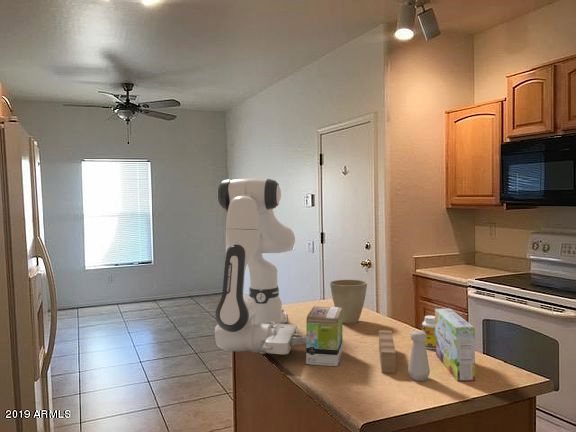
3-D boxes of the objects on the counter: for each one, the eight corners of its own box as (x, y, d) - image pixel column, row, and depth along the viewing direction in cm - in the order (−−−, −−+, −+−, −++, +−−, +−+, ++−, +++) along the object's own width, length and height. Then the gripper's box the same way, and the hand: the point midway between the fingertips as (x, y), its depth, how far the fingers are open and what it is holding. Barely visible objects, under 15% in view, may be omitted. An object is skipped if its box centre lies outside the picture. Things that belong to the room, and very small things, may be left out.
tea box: (338, 367, 139) (338, 317, 138) (305, 365, 141) (304, 316, 140) (343, 350, 154) (342, 306, 153) (312, 349, 156) (312, 305, 155)
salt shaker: (417, 384, 125) (417, 335, 125) (403, 376, 131) (403, 330, 130) (434, 380, 128) (434, 333, 127) (420, 373, 133) (420, 327, 133)
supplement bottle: (418, 346, 157) (418, 316, 157) (431, 343, 159) (431, 314, 159) (430, 351, 152) (430, 319, 152) (443, 348, 154) (443, 317, 154)
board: (379, 348, 155) (378, 330, 155) (391, 348, 155) (391, 330, 155) (381, 372, 134) (381, 352, 134) (395, 373, 133) (395, 352, 133)
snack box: (433, 355, 148) (433, 308, 147) (451, 355, 148) (451, 308, 147) (455, 381, 127) (455, 326, 126) (476, 381, 127) (476, 326, 126)
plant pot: (374, 320, 190) (374, 281, 190) (354, 328, 179) (353, 287, 179) (344, 315, 200) (343, 277, 200) (322, 322, 189) (322, 282, 189)
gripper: (257, 338, 140) (303, 339, 138) (270, 320, 160) (311, 321, 158) (257, 358, 140) (303, 360, 138) (271, 338, 160) (311, 339, 158)
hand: (307, 339), depth 148 cm, fingers closed
